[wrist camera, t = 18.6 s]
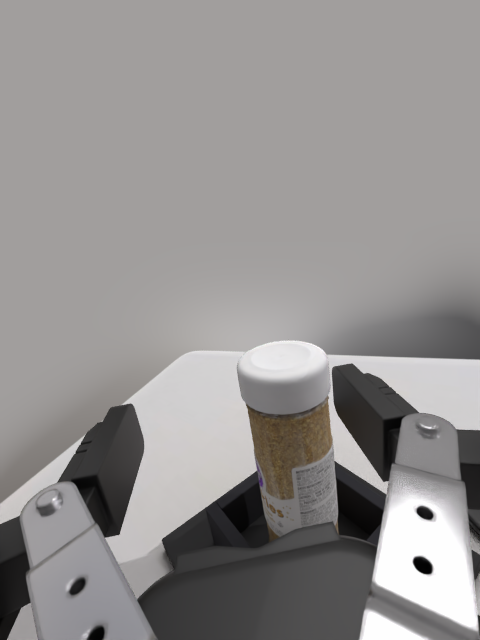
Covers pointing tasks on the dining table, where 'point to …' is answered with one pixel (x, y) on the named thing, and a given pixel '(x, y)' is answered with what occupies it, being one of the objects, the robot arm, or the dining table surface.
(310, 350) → the sprinkles bottle
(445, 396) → the dining table surface
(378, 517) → the base pad
